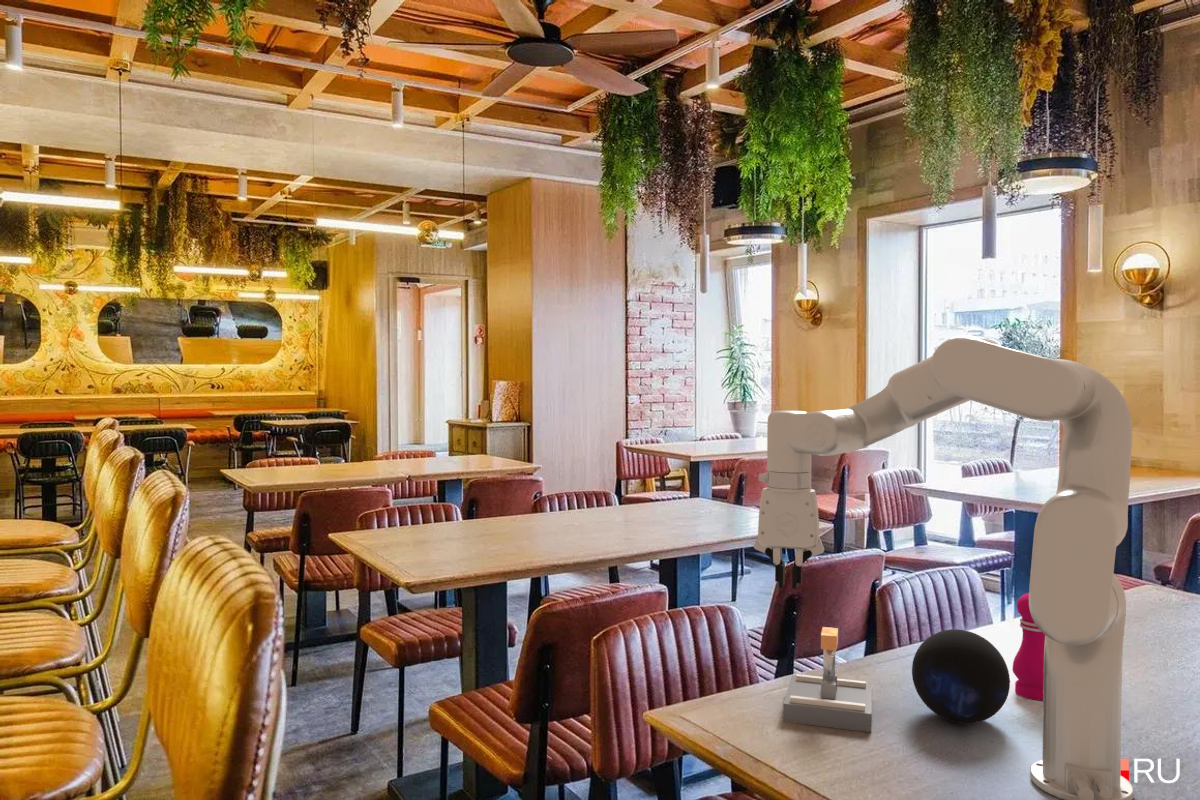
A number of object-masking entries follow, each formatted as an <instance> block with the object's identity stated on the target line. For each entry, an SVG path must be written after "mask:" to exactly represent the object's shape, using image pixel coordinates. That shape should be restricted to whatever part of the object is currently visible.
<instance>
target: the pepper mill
mask: <svg viewBox="0 0 1200 800" xmlns="http://www.w3.org/2000/svg"><path fill="white" fill-rule="evenodd" d="M1016 609H1017V612H1018V614H1019V615H1020V616H1021V617H1020V618H1019V622H1020V623H1019V627H1020V628H1021V629H1022V638H1021V643H1020V647H1019V648H1018V651H1017V652H1016V655H1015V656H1014V658H1013V662H1012V672H1013V675H1015V677H1016V678H1017V680H1016V681H1015V684H1014V685H1015V686H1014V691H1015V694H1017V695H1018V696H1019V697H1022V698H1025V699H1028V700H1033V701H1042V702H1043V678H1044V646H1045V634H1044V633H1043V632H1042V631H1041V630H1040V629H1039V628H1038V627H1037V625H1036V624H1035V622H1034V620H1033V618H1032V616H1031V613H1030V608H1029V592H1027V593H1024V594H1022V595H1021V596H1020V597H1019V598H1018V600H1017V602H1016Z"/></svg>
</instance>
